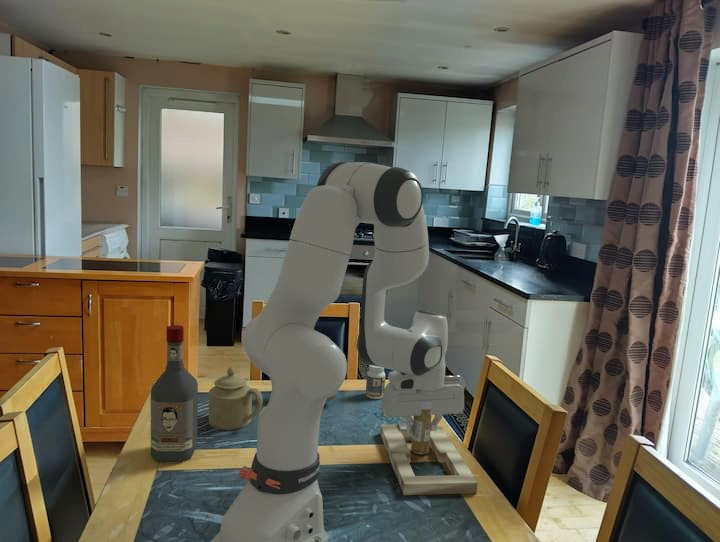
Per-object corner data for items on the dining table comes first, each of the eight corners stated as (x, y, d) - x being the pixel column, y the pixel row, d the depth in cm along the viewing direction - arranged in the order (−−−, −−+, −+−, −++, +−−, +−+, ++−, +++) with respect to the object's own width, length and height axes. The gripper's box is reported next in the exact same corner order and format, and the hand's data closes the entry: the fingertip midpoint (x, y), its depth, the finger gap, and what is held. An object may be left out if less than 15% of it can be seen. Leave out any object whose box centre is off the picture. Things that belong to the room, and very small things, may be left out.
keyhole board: (476, 493, 116) (477, 479, 115) (403, 495, 113) (404, 481, 113) (439, 433, 143) (440, 422, 142) (379, 433, 140) (380, 422, 140)
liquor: (159, 443, 128) (159, 321, 124) (198, 444, 129) (200, 322, 125) (148, 463, 119) (147, 332, 115) (190, 463, 120) (191, 333, 116)
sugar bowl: (269, 415, 148) (271, 362, 145) (260, 433, 137) (261, 376, 134) (216, 410, 148) (217, 358, 146) (202, 428, 137) (203, 372, 135)
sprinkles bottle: (431, 454, 130) (436, 401, 128) (414, 455, 129) (418, 402, 127) (425, 445, 135) (429, 394, 133) (407, 446, 134) (411, 395, 132)
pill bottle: (385, 399, 163) (388, 368, 161) (367, 399, 162) (369, 368, 160) (382, 392, 169) (384, 362, 167) (363, 392, 168) (365, 361, 166)
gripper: (460, 370, 135) (455, 422, 137) (381, 373, 129) (378, 427, 132) (471, 379, 129) (466, 434, 131) (389, 383, 123) (385, 439, 126)
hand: (421, 430), depth 131 cm, fingers closed on sprinkles bottle, 4 cm apart
